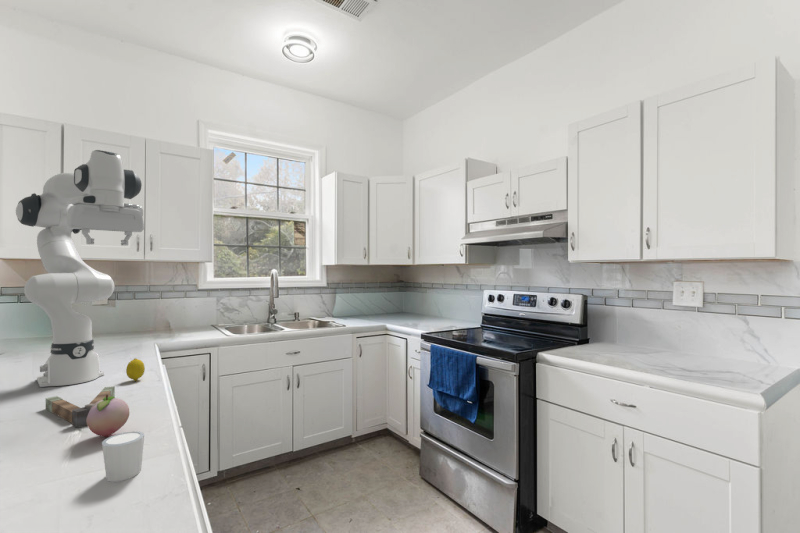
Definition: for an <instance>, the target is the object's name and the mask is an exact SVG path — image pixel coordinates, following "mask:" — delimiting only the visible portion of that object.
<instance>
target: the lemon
mask: <svg viewBox="0 0 800 533" xmlns="http://www.w3.org/2000/svg"><path fill="white" fill-rule="evenodd" d="M125 370H126V372H125V373H126V376H127V377H128V378H129V379H131V380H133V381H134V382H136V381H138V380H139V379H140V378H142V377H143V375H144V374H145V364H144V362H143V361H142V360H141V359H138V358H133V359H132V360H130V362H128V363H127V366H126V367H125Z"/></svg>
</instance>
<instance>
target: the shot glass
mask: <svg viewBox="0 0 800 533" xmlns="http://www.w3.org/2000/svg"><path fill="white" fill-rule="evenodd" d="M144 443H145V433H144V432H142V431H127V432H126V431H125V432H123V433H117V434H115V435H110V436H108V437H106V438H105V439H104V440H103V441H101V445H102V446H101V447H102V453H103V463H104V469H105V477H106V481H108V482H115V483H116V482H121V481H126V480H129V479H131V478H134V477H136V476H137V475H139V473H141V472H142V463H143V453H144V445H145V444H144Z"/></svg>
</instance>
